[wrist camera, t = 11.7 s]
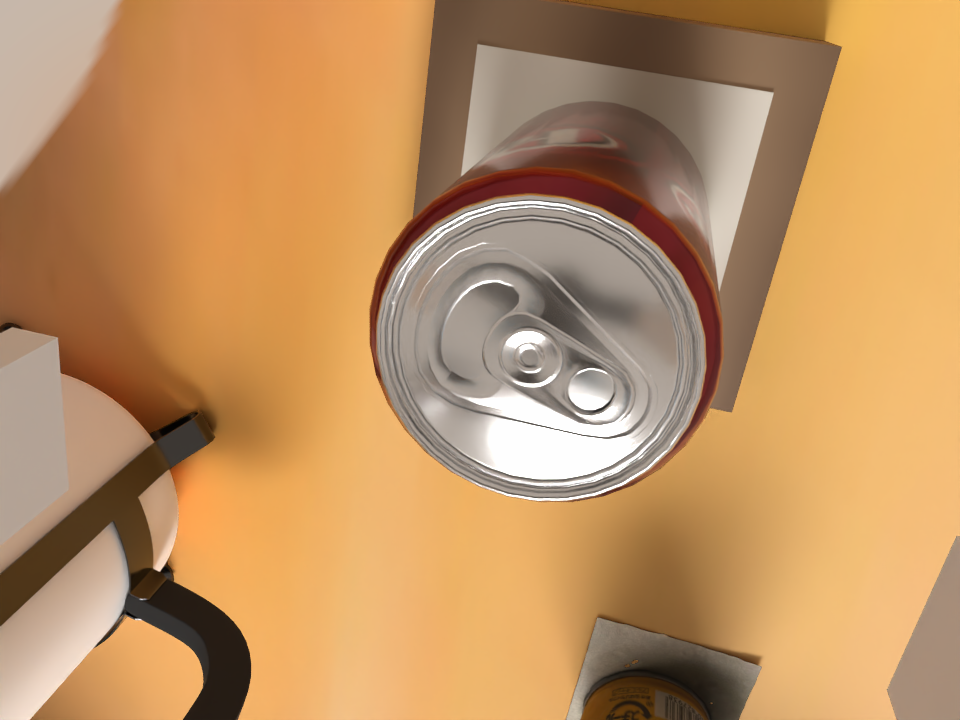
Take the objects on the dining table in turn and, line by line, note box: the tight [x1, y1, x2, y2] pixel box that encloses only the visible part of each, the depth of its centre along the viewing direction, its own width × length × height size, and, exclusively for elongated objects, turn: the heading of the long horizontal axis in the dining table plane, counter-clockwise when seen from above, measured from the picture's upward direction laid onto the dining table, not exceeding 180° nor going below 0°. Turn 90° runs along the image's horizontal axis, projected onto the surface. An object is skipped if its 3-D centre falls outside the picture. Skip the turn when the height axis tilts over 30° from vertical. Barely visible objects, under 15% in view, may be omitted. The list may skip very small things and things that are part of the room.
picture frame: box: [413, 0, 842, 412], centre depth 29 cm, size 12×12×3 cm
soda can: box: [370, 101, 724, 502], centre depth 22 cm, size 7×7×12 cm
